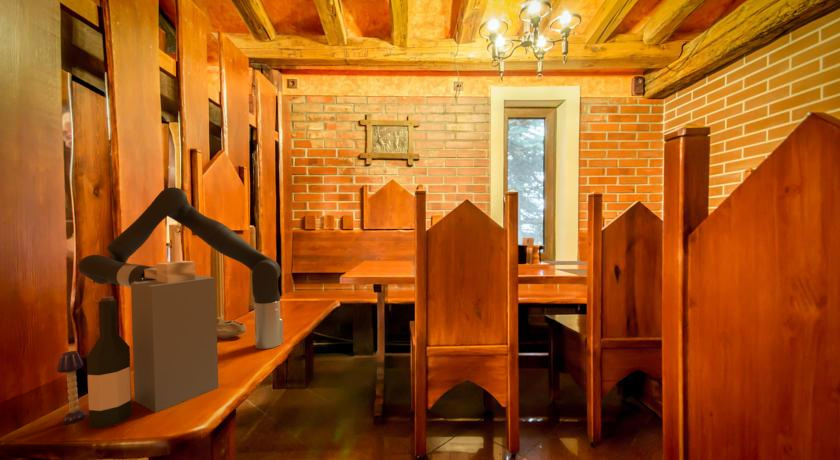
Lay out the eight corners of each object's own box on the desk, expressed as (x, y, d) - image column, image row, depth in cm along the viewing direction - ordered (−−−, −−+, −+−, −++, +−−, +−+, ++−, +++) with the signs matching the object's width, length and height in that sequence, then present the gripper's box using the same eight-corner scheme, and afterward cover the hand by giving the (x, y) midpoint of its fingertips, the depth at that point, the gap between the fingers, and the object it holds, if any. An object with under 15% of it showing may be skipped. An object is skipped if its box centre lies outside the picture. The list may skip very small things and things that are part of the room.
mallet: (162, 275, 113) (162, 259, 113) (195, 279, 103) (194, 261, 103) (135, 278, 107) (135, 261, 107) (167, 283, 97) (167, 264, 97)
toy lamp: (69, 426, 87) (66, 356, 86) (53, 424, 88) (51, 355, 87) (90, 415, 91) (88, 349, 91) (76, 414, 92) (73, 348, 92)
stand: (196, 379, 112) (193, 275, 112) (218, 387, 106) (215, 277, 105) (134, 401, 99) (130, 283, 98) (155, 412, 92) (151, 286, 92)
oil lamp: (240, 341, 149) (240, 321, 149) (204, 341, 150) (204, 321, 149) (254, 333, 160) (253, 314, 160) (220, 333, 161) (220, 314, 160)
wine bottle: (96, 432, 84) (91, 302, 83) (83, 422, 88) (78, 298, 88) (139, 415, 91) (135, 295, 90) (125, 407, 95) (121, 292, 95)
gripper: (117, 267, 109) (162, 275, 105) (160, 263, 123) (201, 270, 119) (114, 292, 109) (159, 300, 106) (158, 285, 123) (199, 292, 120)
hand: (181, 284), depth 113 cm, fingers open, 8 cm apart
